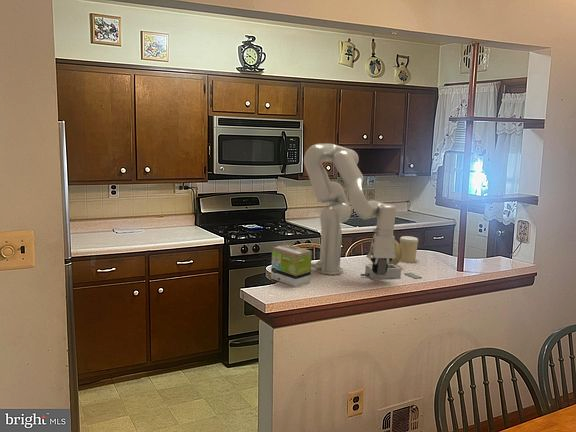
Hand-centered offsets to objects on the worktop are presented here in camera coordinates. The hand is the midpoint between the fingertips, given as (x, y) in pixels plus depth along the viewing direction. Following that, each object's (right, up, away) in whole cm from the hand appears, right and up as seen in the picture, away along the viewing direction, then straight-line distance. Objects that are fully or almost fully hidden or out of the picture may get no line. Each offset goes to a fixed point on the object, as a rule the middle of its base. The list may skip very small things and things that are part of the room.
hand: (379, 271), depth 239 cm
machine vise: (+1, -3, +8) cm, 9 cm away
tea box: (-39, -4, -4) cm, 40 cm away
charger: (0, -1, 0) cm, 1 cm away
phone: (+17, -4, +11) cm, 21 cm away
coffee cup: (+21, +1, +39) cm, 45 cm away
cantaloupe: (+8, 0, +26) cm, 27 cm away
